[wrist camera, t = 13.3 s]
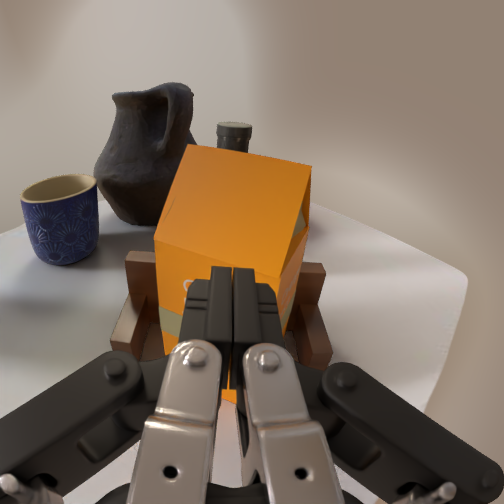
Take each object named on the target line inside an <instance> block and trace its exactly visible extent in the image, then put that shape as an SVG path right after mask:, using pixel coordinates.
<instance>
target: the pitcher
mask: <svg viewBox="0 0 504 504" xmlns="http://www.w3.org/2000/svg"><path fill="white" fill-rule="evenodd" d="M193 96H194V94H193V93H192V92H191V89H190V88H189V87H188V86H186V85H184V84H182V83H174V82H172V83H164V84H162V85H159V86H156V87H154V88H151V89H149V90H145V91H137V92H121V93H114V94H113V95H112V99H113V101H114V102H115V105H116V108H117V110H116V117H115V121H114V124H113V128H112V131H111V134H110V137H109V139H108V142H107V144H106V146H105V147H104V149H103V151H102V153H101V155H100V157H99V158H98V160H97V162H96V164H95V167H94V178H95V179H96V180H97V187H98V188H99V190H100V191H101V193H102V195H103V196H104V198H105V199H106V200H107V202H108V203H109V204H110V206H111V207H112V209H113V211H114V212H115V214H116V215H117V216H118V217H119V218H120V219H121V220H123V221H125V222H127V223H130V224H132V225H139V226H149V225H156V224H158V223H159V220H160V217H161V214H162V211H163V208H164V205H165V202H166V200H167V197H168V194H169V191H170V189H171V186H172V183H173V181H174V178H175V175H176V173H177V170H178V167H179V165H180V162H181V160H182V157H183V155H184V152H185V150H186V147H187V145H188V144H193V145H197V144H196V142H195V140H194V138H193V137H192V134H191V132H190V130H189V128H190V125H191V121H192V116H193Z"/></svg>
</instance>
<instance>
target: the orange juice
mask: <svg viewBox="0 0 504 504" xmlns="http://www.w3.org/2000/svg"><path fill="white" fill-rule="evenodd" d="M311 168H312V166H309V165H304V164H300V163H295V162H291V161H286V160H280V159H276V158H271V157H266V156H261V155H255V154H250V153H244V152H239V151H233V150H226V149H220V148H214V147H207V146H199V145H193V144H188V145H187V147H186V150H185V152H184V155H183V157H182V160H181V162H180V165H179V167H178V170H177V173H176V175H175V178H174V181H173V183H172V186H171V189H170V191H169V194H168V197H167V200H166V202H165V205H164V208H163V211H162V214H161V217H160V220H159V223H158V226H157V229H156V232H155V235H154V238H153V239H154V244H155V261H156V275H157V287H158V298H159V315H160V324H161V330H162V335H163V343H164V351H165V356H166V355H168V354H170V353H171V351H172V350H173V348H174V347H175V346H176V345H177V344H178V340H179V334H180V328H181V323H182V317H183V312H184V306H185V301H186V295H187V290H188V287H189V286H190V285H191V283H192V282H193V281H194V280H195V279H206V280H210V276H211V267H212V266H223V267H232V275H233V267H238V268H253V269H254V273H255V282H256V283H268V284H269V286H270V287H271V288H272V289H273V291H274V292H275V294H276V300H277V305H278V311H279V316H280V322H281V328H282V333H283V339H284V335H285V331H286V327H287V323H288V319H289V315H290V313H291V309H292V305H293V301H294V297H295V292H296V286H297V282H298V277H299V273H300V268H301V264H302V259H303V255H304V250H305V246H306V241H307V236H308V232H309V227H308V224H309V207H310V187H311V186H310V185H311ZM221 398H223V399H225V400H228V401H230V402H232V403H235V404H236V401H237V400H236V390H229V374H228V384H227V390H226V389H222V397H221Z"/></svg>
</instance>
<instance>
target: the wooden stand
mask: <svg viewBox="0 0 504 504" xmlns="http://www.w3.org/2000/svg"><path fill="white" fill-rule="evenodd" d="M125 268H126V276H127V282H128V289H129V294H128V297H127V299H126V301H125V304H124V306H123V309H122V311H121V313H120V316H119V318H118V321H117V323H116V326H115V329H114V331H113V334H112V336H111V339H110V343H111V346H112V350H113V351H115V350H119V351H125V352H128V353H130V354H132V355H134V356H135V357H136V358H137V359H138V361H140V357H141V354H142V350H143V346H144V343H145V339H146V335H147V332H148V328H149V325H150V322H154V323H160V315H159V298H158V287H157V275H156V261H155V252H146V251H132V250H130V251H129V253H128V255H127V257H126V259H125ZM325 277H326V272H325V270H324V267H323V265H322V263H310V262H302V264H301V268H300V273H299V277H298V282H297V286H296V292H295V297H294V301H293V305H292V309H291V313H290V315H289V319H288V323H287V327H286V330H290V331H293V334H294V339H295V344H296V348H297V353H298V358H299V363H300V364H302V365H304V366H307V367H311V368H315V369H319V370H323V371H325V369H326V368H327V367H328V364H329V362H330V360H331V358H332V355H333V350H332V347H331V344H330V341H329V338H328V335H327V332H326V329H325V326H324V323H323V320H322V317H321V314H320V311H319V308H318V305H317V304H318V301H319V297H320V294H321V291H322V287H323V284H324V280H325Z"/></svg>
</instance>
